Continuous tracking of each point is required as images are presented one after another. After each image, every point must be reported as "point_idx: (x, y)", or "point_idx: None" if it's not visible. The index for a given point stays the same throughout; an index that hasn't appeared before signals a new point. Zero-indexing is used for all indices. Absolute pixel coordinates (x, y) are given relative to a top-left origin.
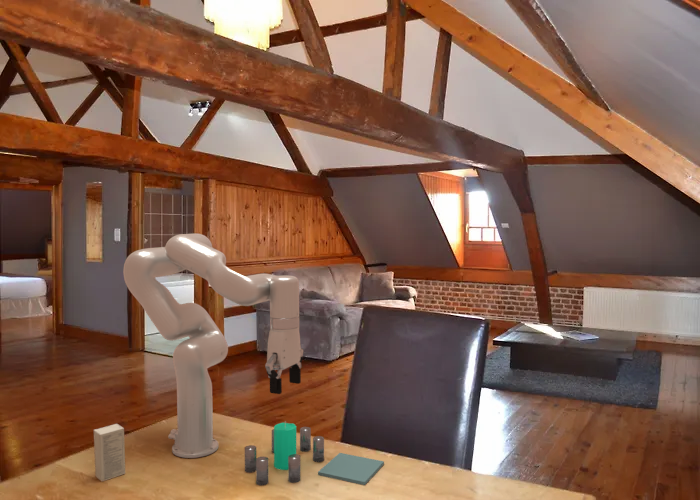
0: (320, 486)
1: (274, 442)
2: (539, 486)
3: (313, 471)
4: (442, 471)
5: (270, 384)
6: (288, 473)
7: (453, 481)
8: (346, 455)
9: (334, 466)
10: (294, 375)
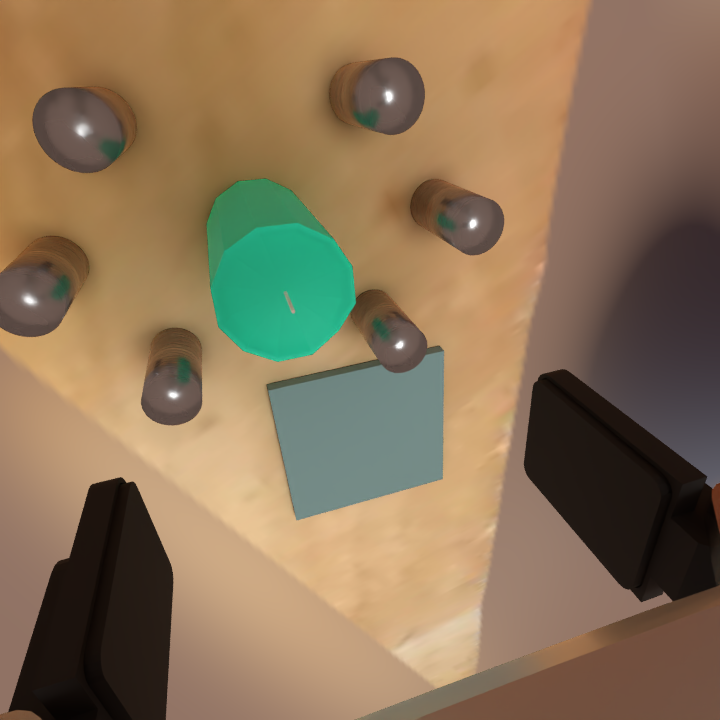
0: (203, 439)
1: (218, 233)
2: None
3: None
4: (460, 570)
5: (73, 576)
6: (151, 352)
7: (423, 605)
8: (433, 380)
9: (337, 403)
10: (581, 489)
